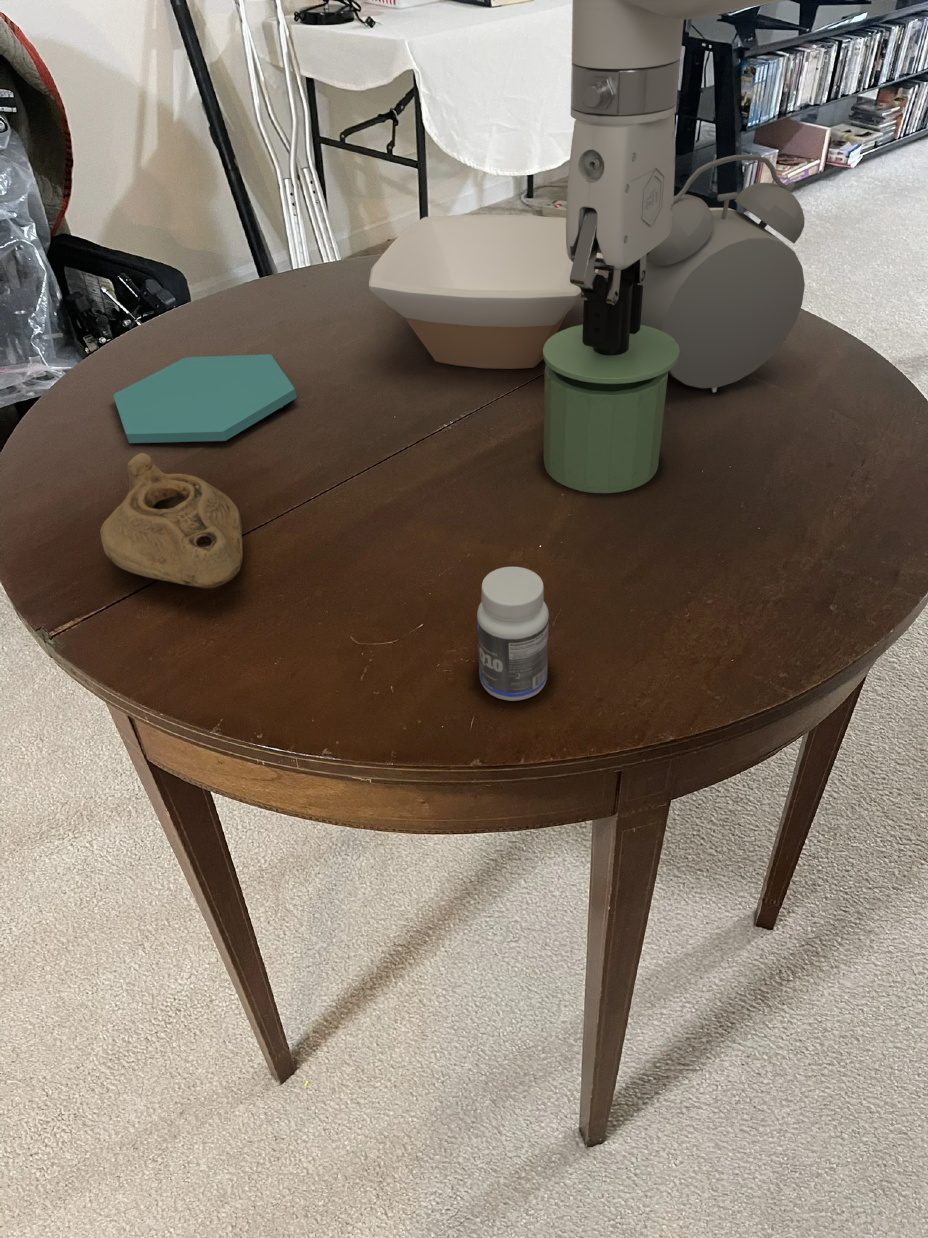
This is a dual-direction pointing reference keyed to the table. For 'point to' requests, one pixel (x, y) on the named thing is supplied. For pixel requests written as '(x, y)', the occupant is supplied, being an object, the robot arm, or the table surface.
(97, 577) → the table surface
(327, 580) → the table surface
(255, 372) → the plaque
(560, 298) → the bowl
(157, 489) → the oil lamp
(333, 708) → the table surface
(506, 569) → the pill bottle
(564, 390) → the cup
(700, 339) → the alarm clock
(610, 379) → the tin lid
